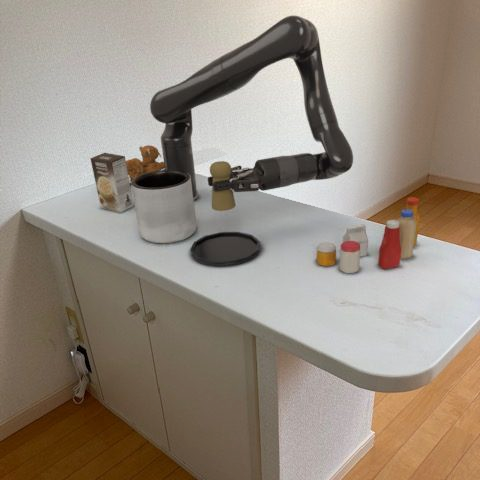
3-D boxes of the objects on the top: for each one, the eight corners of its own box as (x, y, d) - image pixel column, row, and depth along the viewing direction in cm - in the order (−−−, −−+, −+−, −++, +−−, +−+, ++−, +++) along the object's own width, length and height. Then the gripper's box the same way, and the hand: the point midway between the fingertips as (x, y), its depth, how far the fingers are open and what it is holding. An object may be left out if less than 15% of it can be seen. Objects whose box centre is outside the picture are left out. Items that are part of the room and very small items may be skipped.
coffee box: (99, 208, 164) (88, 158, 156) (114, 201, 169) (103, 152, 160) (121, 213, 160) (110, 161, 151) (134, 206, 165) (125, 155, 156)
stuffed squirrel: (172, 184, 180) (167, 146, 172) (134, 193, 174) (127, 154, 167) (161, 177, 187) (155, 140, 180) (124, 186, 182) (117, 148, 174)
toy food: (409, 239, 132) (415, 193, 125) (437, 260, 121) (444, 212, 115) (310, 256, 128) (311, 209, 121) (330, 279, 117) (332, 230, 110)
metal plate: (176, 256, 132) (175, 251, 131) (220, 231, 144) (219, 226, 143) (232, 273, 123) (232, 268, 122) (274, 244, 134) (274, 239, 134)
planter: (128, 240, 142) (117, 185, 134) (161, 218, 154) (153, 167, 145) (176, 249, 136) (168, 192, 127) (208, 226, 147) (202, 172, 139)
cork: (227, 212, 126) (223, 167, 120) (206, 208, 129) (202, 164, 123) (240, 203, 130) (237, 160, 124) (220, 200, 133) (216, 157, 127)
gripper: (265, 150, 133) (201, 161, 129) (287, 165, 122) (218, 177, 117) (266, 179, 137) (204, 190, 133) (288, 195, 126) (220, 208, 122)
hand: (211, 184), depth 125 cm, fingers closed on cork, 3 cm apart
